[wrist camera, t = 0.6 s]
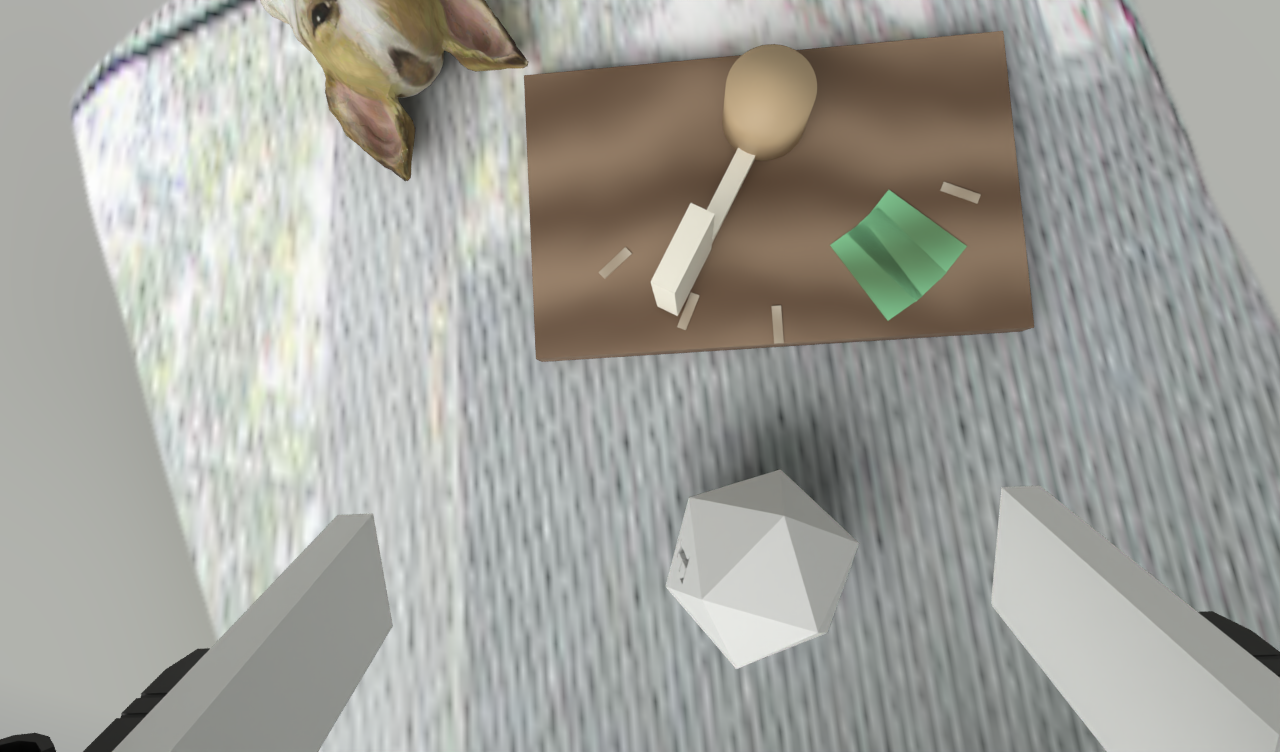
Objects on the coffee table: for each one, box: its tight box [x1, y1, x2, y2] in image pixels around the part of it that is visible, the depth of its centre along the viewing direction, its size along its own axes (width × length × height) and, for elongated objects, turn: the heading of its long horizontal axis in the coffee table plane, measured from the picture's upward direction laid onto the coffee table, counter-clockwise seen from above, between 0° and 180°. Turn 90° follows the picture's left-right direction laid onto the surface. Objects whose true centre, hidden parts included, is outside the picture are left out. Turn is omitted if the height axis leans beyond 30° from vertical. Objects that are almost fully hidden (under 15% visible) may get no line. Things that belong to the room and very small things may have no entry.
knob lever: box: [651, 44, 817, 316], centre depth 34 cm, size 14×4×6 cm, turn 153°
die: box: [666, 469, 859, 669], centre depth 34 cm, size 8×9×10 cm
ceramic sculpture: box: [261, 0, 528, 181], centre depth 38 cm, size 11×9×15 cm
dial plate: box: [524, 31, 1034, 362], centre depth 38 cm, size 16×26×2 cm, turn 93°
